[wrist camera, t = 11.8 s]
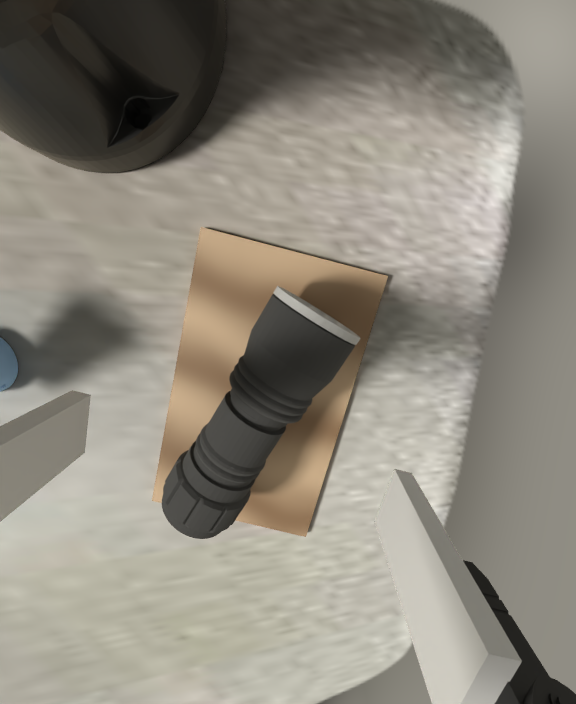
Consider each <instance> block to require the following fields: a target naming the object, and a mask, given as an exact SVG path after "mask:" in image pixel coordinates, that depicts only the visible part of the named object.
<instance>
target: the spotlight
mask: <svg viewBox="0 0 576 704" xmlns="http://www.w3.org/2000/svg"><path fill="white" fill-rule="evenodd" d="M17 374H18V362H17V358H16V356H15V353H14V351H13V350H12V348H11V347H10V346H9V344H8V343H7V342H6V341H5V340H3V339H2V338H1V337H0V391H3V390H5V389H7V388H9V387H10V386H11V385H12V384H13V383H14V381H15V379H16V377H17Z"/></svg>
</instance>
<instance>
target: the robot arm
mask: <svg viewBox="0 0 576 704" xmlns="http://www.w3.org/2000/svg"><path fill="white" fill-rule="evenodd" d="M226 31H227V20H226V5H225V0H0V130H1V131H2V132H4V133H5V134H7V135H8V136H10V137H11V138H13V139H14V140H16V141H18V142H20V143H21V144H23V145H25V146H27V147H29V148H31V149H33V150H35V151H37V152H39V153H41V154H43V155H44V156H46V157H48V158H50V159H52V160H55V161H57V162H59V163H61V164H64V165H66V166H69V167H73V168H76V169H80V170H84V171H91V172H101V173H114V172H123V171H128V170H133V169H136V168H140V167H142V166H145V165H148V164H150V163H152V162H154V161H156V160H158V159H160V158H161V157H163V156H165V155H166V154H168V153H169V152H171V151H172V150H173V149H174V148H176V147H177V146H178V145H179V144H180V143H181V142H182V141H183V140H184V139H185V138H186V137H187V136H188V135H189V134H190V133H191V132H192V130H193V129H194V128H195V127H196V125H197V124H198V122H199V121H200V120H201V118H202V116H203V115H204V113H205V111H206V110H207V108H208V106H209V104H210V102H211V99H212V97H213V95H214V93H215V90H216V87H217V84H218V81H219V78H220V74H221V70H222V66H223V61H224V54H225V47H226ZM90 396H91V395H89V394H85V393H81V392H76V391H70V392H68V393H66V394H64V395H62V396H60V397H58V398H56V399H54V400H52V401H50V402H48V403H46V404H44V405H42V406H40V407H38V408H36V409H34V410H32V411H30V412H28V413H26V414H24V415H22V416H20V417H18V418H16V419H14V420H12V421H10V422H8V423H6V424H4V425H2V426H0V521H2V520H3V519H4V518H5V517H7V516H8V515H9V514H10V513H11V512H13V511H14V510H15V509H16V508H17V507H19V506H20V505H21V504H22V503H24V502H25V501H26V500H27V499H28V498H30V497H31V496H32V495H33V494H35V493H36V492H37V491H38V490H39V489H41V488H42V487H43V486H44V485H46V484H47V483H48V482H49V481H50V480H52V479H53V478H54V477H55V476H57V475H58V474H59V473H60V472H61V471H63V470H64V469H65V468H66V467H68V466H69V465H70V464H71V463H72V462H74V461H75V460H76V459H77V458H78V457H80V456H81V455H82V454H83V453H85V444H86V434H87V425H88V415H89V405H90ZM374 522H375V525H376V528H377V531H378V534H379V537H380V541H381V544H382V547H383V550H384V553H385V556H386V560H387V563H388V566H389V569H390V572H391V575H392V579H393V582H394V585H395V588H396V591H397V594H398V597H399V601H400V604H401V607H402V610H403V613H404V616H405V620H406V623H407V626H408V629H409V632H410V635H411V638H412V642H413V645H414V648H415V651H416V654H417V657H418V660H419V664H420V667H421V670H422V673H423V676H424V680H425V683H426V686H427V689H428V692H429V695H430V698H431V701H432V704H576V694H575V693H574V692H573V691H571V690H570V689H569V688H568V687H566V686H565V685H563V684H561V683H560V682H558V681H557V680H555V679H552V678H550V677H549V675H548V673H547V672H546V670H545V669H544V667H543V666H542V664H541V662H540V661H539V659H538V658H537V656H536V655H535V653H534V651H533V650H532V648H531V647H530V645H529V643H528V642H527V640H526V639H525V637H524V636H523V634H522V633H521V631H520V629H519V628H518V626H517V625H516V623H515V621H514V620H513V618H512V617H511V616H510V615H509V614H508V610H507V609H506V607H505V606H504V604H503V602H502V601H501V600H499V596H498V595H497V593H496V591H495V590H494V588H493V587H492V585H491V583H490V582H489V580H488V579H487V578H486V577H485V576H484V575H483V573H482V572H481V571H480V570H479V569H478V568H477V567H476V566H475V565H474V564H473V563H472V562H468V561H464V560H462V558H461V556H460V555H459V553H458V551H457V550H456V548H455V546H454V545H453V543H452V542H451V539H450V538H449V536H448V534H447V533H446V531H445V529H444V527H443V526H442V524H441V522H440V521H439V519H438V517H437V516H436V514H435V512H434V510H433V509H432V507H431V505H430V504H429V502H428V500H427V498H426V497H425V495H424V493H423V492H422V490H421V488H420V487H419V485H418V483H417V481H416V480H415V478H414V476H413V475H412V473H409V472H405V471H401V470H397V469H394V471H393V474H392V477H391V479H390V482H389V485H388V487H387V490H386V492H385V495H384V498H383V500H382V503H381V505H380V508H379V511H378V513H377V516H376V519H375V521H374Z"/></svg>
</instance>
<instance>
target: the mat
mask: <svg viewBox="0 0 576 704" xmlns="http://www.w3.org/2000/svg"><path fill="white" fill-rule="evenodd" d="M387 278H388V276H386V275H382V274H378V273H374V272H370V271H367V270H363V269H359V268H355V267H351V266H348V265H344V264H340V263H336V262H332V261H329V260H325V259H321V258H317V257H313V256H309V255H306V254H302V253H298V252H294V251H290V250H287V249H283V248H279V247H275V246H271V245H268V244H264V243H260V242H256V241H252V240H249V239H245V238H241V237H237V236H233V235H229V234H226V233H222V232H218V231H214V230H210V229H207V228H203V227H201V229H200V235H199V240H198V246H197V252H196V257H195V263H194V268H193V274H192V279H191V285H190V291H189V296H188V302H187V307H186V313H185V319H184V324H183V330H182V335H181V341H180V347H179V352H178V358H177V363H176V369H175V375H174V380H173V386H172V391H171V397H170V403H169V408H168V414H167V419H166V425H165V431H164V436H163V442H162V447H161V453H160V459H159V464H158V470H157V475H156V481H155V487H154V492H153V498H152V501H155V502H160V503H162V497H163V487H164V484H165V480H166V478H167V477H168V475H169V473H170V471H171V470H172V468H173V466H174V465H175V463H176V461H177V460H178V458H179V457H180V455H181V454H182V453H184V452H185V451H187V450H189V449H190V447H191V446H192V444H193V443H194V442H195V441H196V439H197V437H198V435H199V434H200V432H201V430H202V428H203V427H204V426H205V425H206V424H208V423H209V421H210V420H211V418H212V416H213V415H214V413H215V411H216V410H217V408H218V406H219V405H220V403H221V401H222V400H223V398H224V396H225V395H226V393H227V392H229V391H231V389H232V387H231V385H230V380H229V377H230V373H231V372H232V371H233V370H234V367H235V365H236V364H237V363H238V361H239V358H240V357H241V356H243V355H244V353H245V350H246V347H247V343H248V340H249V336H250V333H251V330H252V328H253V326H254V325H255V323H256V321H257V320H258V318H259V316H260V315H261V313H262V311H263V310H264V308H265V306H266V304H267V303H268V301H269V299H270V298H271V296H272V294H274V293H273V292H274V291H275V289H276V287H277V286H279V287H282V288H284V289H286V290H288V291H289V292H291V293H293V294H295V295H296V296H298V297H300V298H301V299H303V300H305V301H306V302H308V303H310V304H311V305H313V306H314V307H316V308H318V309H319V310H321V311H322V312H324V313H326V314H327V315H329V316H330V317H332V318H334V319H335V320H337V321H338V322H340V323H341V324H343V325H344V326H346V327H347V328H348V329H350V330H351V331H353V332H354V333H355V334H357V335H358V336H359V337H360V338H361V339H360V340H359V342H358V343H357V345H355V347H354V349H353V350H352V352H351V353H350V355H349V356H348V358H347V359H346V361H345V362H344V364H343V365H342V367H341V368H340V370H339V371H338V373H337V374H336V375H335V377H334V378H333V380H332V381H331V382H330V383H329V384H328V385H327V386H326V387H325V388H323V389H322V390H321V391H320V392H319V393H318V394H317V395H316V396H314V397H313V398H312V403H311V405H310V406H308V408H307V411H306V412H305V413H304V414H303V416H302V419H301V420H299V421H298V422H295V423H289V424H287V425H286V430H285V432H284V433H283V435H282V436H281V438H280V439H279V441H278V442H277V444H276V446H275V447H274V449H273V450H272V452H271V453H270V455H269V456H268V458H267V459H266V463H265V466H264V468H263V470H261V471H260V474H259V476H258V477H257V478H256V479H255V482H254V484H253V486H252V487H251V489H250V491H251V494H250V498H249V500H248V502H247V503H246V505H245V506H244V508H243V509H242V511H241V512H240V514H239V515H238V517H237V518H236V521H240V522H245V523H249V524H253V525H257V526H262V527H266V528H270V529H274V530H279V531H283V532H287V533H291V534H296V535H300V536H304V537H306V535H307V532H308V528H309V525H310V522H311V519H312V516H313V513H314V509H315V506H316V503H317V500H318V497H319V494H320V490H321V487H322V484H323V481H324V478H325V475H326V471H327V468H328V465H329V462H330V459H331V456H332V452H333V449H334V446H335V443H336V440H337V437H338V433H339V430H340V427H341V424H342V421H343V418H344V414H345V411H346V408H347V405H348V402H349V399H350V395H351V392H352V389H353V386H354V383H355V380H356V376H357V373H358V370H359V367H360V364H361V361H362V357H363V354H364V351H365V348H366V345H367V341H368V338H369V335H370V332H371V329H372V326H373V322H374V319H375V316H376V313H377V310H378V307H379V303H380V300H381V297H382V294H383V291H384V288H385V284H386V281H387Z"/></svg>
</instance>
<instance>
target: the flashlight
mask: <svg viewBox="0 0 576 704" xmlns="http://www.w3.org/2000/svg"><path fill="white" fill-rule="evenodd" d="M273 293H274V294H272V296H271V298H270V299H269V301H268V303H267V304H266V306H265V308H264V310H263V311H262V313H261V315H260V316H259V318H258V320H257V321H256V323H255V325H254V326H253V328H252V330H251V333H250V336H249V340H248V343H247V347H246V350H245V353H244V355H243V356H241V357H240V358H239V361H238V363H237V364H236V365H235V367H234V370H233V371H232V372H231V373H230V377H229V380H230V385H231V387H232V389H231V391H229V392H227V393H226V395H225V396H224V398H223V400H222V401H221V403H220V405H219V406H218V408H217V410H216V411H215V413H214V415H213V416H212V418H211V420H210V421H209V423H208V424H206V425H205V426H204V427H203V428H202V430H201V432H200V434H199V435H198V437H197V439H196V441H195V442H194V443H193V444H192V446H191V447H190V449H189V450H187V451H185V452H184V453H182V454H181V455H180V457H179V458H178V460H177V461H176V463H175V465H174V466H173V468H172V470H171V471H170V473H169V475H168V477H167V478H166V480H165V484H164V487H163V497H162V508H163V512H164V514H165V516H166V518H167V520H168V521H169V522H170V524H171V525H172V526H173V527H174V528H175V529H177V530H178V531H179V532H181V533H183V534H185V535H187V536H189V537H193V538H198V539H205V538H211V537H214V536H216V535H217V534H219V533H220V532H221V531H223V530H225V529H227V528H228V527H229V526H230V525H232V524H233V523H234V521H235V520H236V518H237V517H238V515H239V514H240V512H241V511H242V509H243V508H244V506H245V505H246V503H247V502H248V500H249V498H250V494H251V491H250V489H251V487H252V486H253V484H254V482H255V479H256V478H257V477H258V476H259V474H260V471H261V470H263V468H264V466H265V463H266V459H267V458H268V456H269V455H270V453H271V452H272V450H273V449H274V447H275V446H276V444H277V442H278V441H279V439H280V438H281V436H282V435H283V433H284V432H285V430H286V425H287V424H289V423H295V422H298V421H299V420H301V419H302V416H303V414H304V413H305V412H306V411H307V408H308V406H310V405H311V403H312V398H313V397H314V396H316V395H317V394H318V393H319V392H320V391H321V390H322V389H323V388H325V387H326V386H327V385H328V384H329V383H330V382H331V381H332V380H333V378H334V377H335V375H336V374H337V373H338V371H339V370H340V368H341V367H342V365H343V364H344V362H345V361H346V359H347V358H348V356H349V355H350V353H351V352H352V350H353V349H354V347H355V345H357V343H358V342H359V340H360V339H361V338H360V337H359V336H358V335H357V334H355V333H354V332H353V331H351V330H350V329H348V328H347V327H346V326H344V325H343V324H341V323H340V322H338V321H337V320H335V319H334V318H332V317H330V316H329V315H327V314H326V313H324V312H322V311H321V310H319V309H318V308H316V307H314V306H313V305H311V304H310V303H308V302H306V301H305V300H303V299H301V298H300V297H298V296H296V295H295V294H293V293H291V292H289V291H288V290H286V289H284V288H282V287H279V286H277V287H276V289H275V291H274V292H273Z"/></svg>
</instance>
